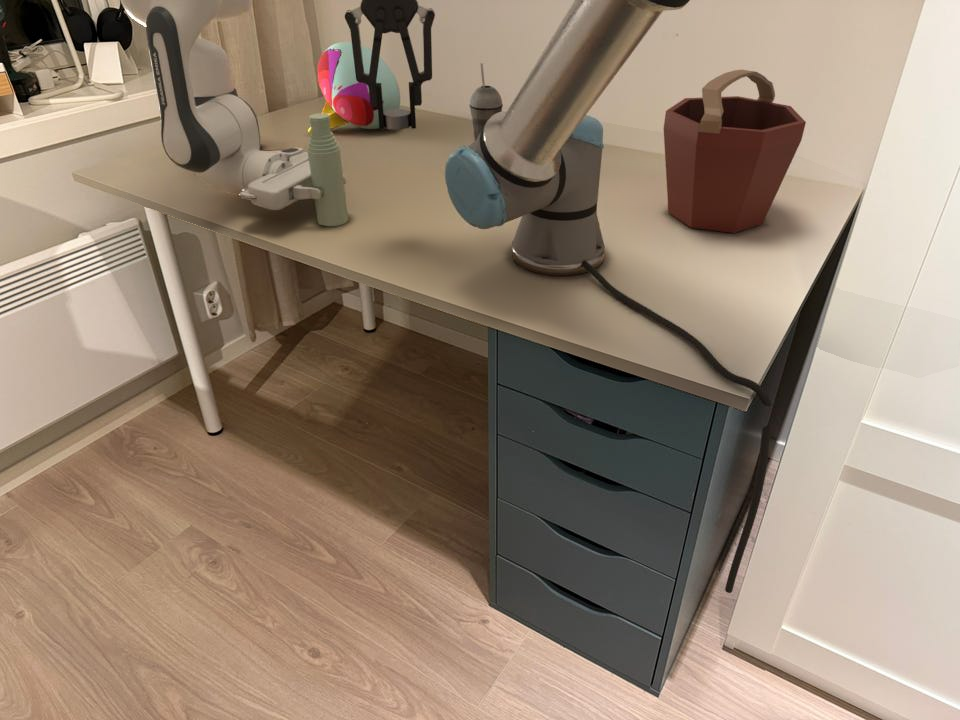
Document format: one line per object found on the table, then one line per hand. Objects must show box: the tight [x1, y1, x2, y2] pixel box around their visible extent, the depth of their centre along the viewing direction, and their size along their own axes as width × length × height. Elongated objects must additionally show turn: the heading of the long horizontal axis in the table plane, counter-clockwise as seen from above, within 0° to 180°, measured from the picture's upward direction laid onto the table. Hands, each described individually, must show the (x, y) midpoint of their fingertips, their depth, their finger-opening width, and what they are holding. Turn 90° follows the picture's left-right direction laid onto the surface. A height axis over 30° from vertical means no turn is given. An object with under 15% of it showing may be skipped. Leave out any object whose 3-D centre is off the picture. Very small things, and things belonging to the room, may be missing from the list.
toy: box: [307, 41, 401, 134], centre depth 176 cm, size 24×24×20 cm
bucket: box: [663, 69, 807, 234], centre depth 125 cm, size 24×22×25 cm
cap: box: [383, 108, 411, 131], centre depth 113 cm, size 4×4×2 cm
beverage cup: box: [468, 62, 504, 143], centre depth 154 cm, size 7×7×20 cm
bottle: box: [306, 113, 349, 227], centre depth 126 cm, size 6×6×19 cm
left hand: (332, 187), depth 127 cm, fingers closed on bottle, 5 cm apart
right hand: (397, 126), depth 114 cm, fingers closed on cap, 4 cm apart
